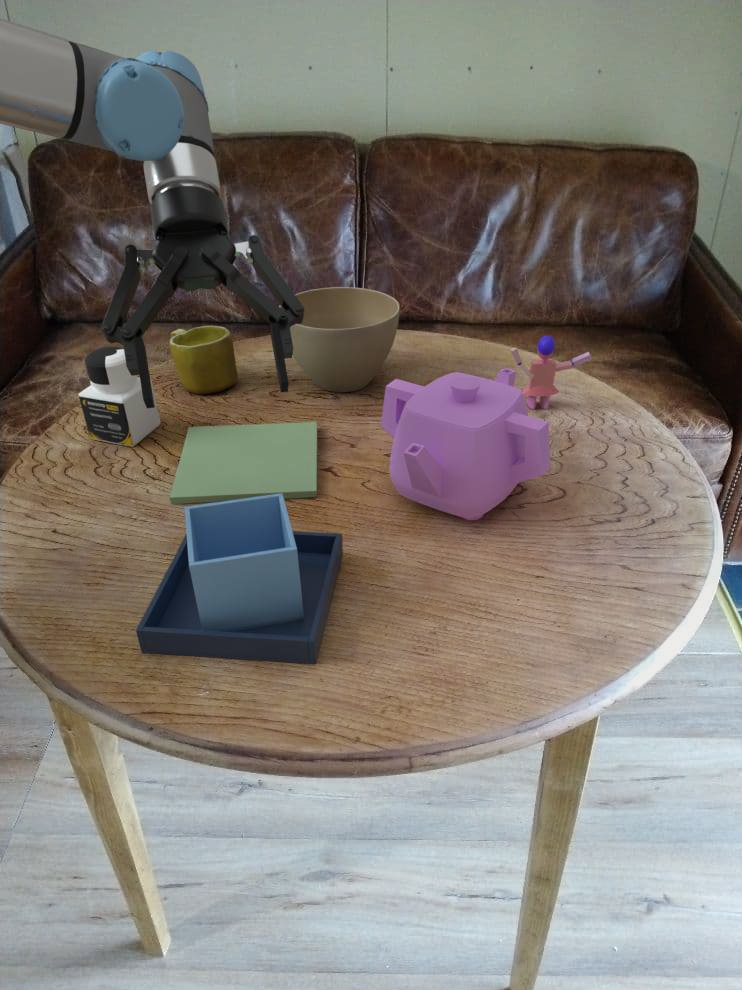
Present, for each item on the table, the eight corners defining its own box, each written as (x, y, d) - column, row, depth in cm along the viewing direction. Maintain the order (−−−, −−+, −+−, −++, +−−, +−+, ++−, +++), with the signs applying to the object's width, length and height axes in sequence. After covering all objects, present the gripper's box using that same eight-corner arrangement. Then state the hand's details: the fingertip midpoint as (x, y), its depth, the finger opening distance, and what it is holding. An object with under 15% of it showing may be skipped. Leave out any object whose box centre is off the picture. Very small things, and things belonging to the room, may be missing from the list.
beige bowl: (411, 400, 120) (412, 323, 113) (292, 413, 117) (285, 334, 110) (386, 353, 135) (385, 281, 127) (279, 363, 131) (272, 290, 124)
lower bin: (141, 652, 77) (135, 630, 76) (194, 546, 91) (190, 525, 89) (316, 664, 76) (314, 641, 74) (343, 554, 90) (341, 533, 88)
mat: (170, 504, 98) (169, 497, 97) (189, 433, 112) (188, 426, 112) (317, 497, 99) (316, 490, 99) (317, 427, 114) (317, 421, 113)
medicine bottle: (89, 440, 111) (67, 359, 104) (119, 417, 116) (100, 338, 109) (133, 448, 109) (114, 366, 102) (162, 424, 114) (145, 345, 107)
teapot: (406, 544, 91) (406, 428, 82) (369, 464, 105) (367, 358, 96) (560, 520, 95) (576, 406, 86) (505, 446, 110) (515, 342, 100)
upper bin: (198, 575, 86) (184, 506, 81) (289, 560, 88) (282, 492, 83) (203, 637, 78) (188, 565, 73) (304, 619, 80) (297, 548, 75)
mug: (261, 375, 123) (229, 317, 117) (205, 411, 120) (170, 353, 115) (232, 362, 133) (202, 308, 127) (181, 395, 130) (147, 341, 124)
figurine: (587, 407, 119) (597, 336, 112) (509, 414, 117) (515, 342, 110) (579, 397, 121) (589, 327, 115) (503, 403, 120) (509, 332, 113)
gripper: (302, 214, 90) (335, 393, 87) (69, 231, 85) (97, 422, 82) (306, 174, 82) (342, 368, 80) (52, 190, 77) (81, 398, 75)
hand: (218, 396), depth 81 cm, fingers open, 13 cm apart
